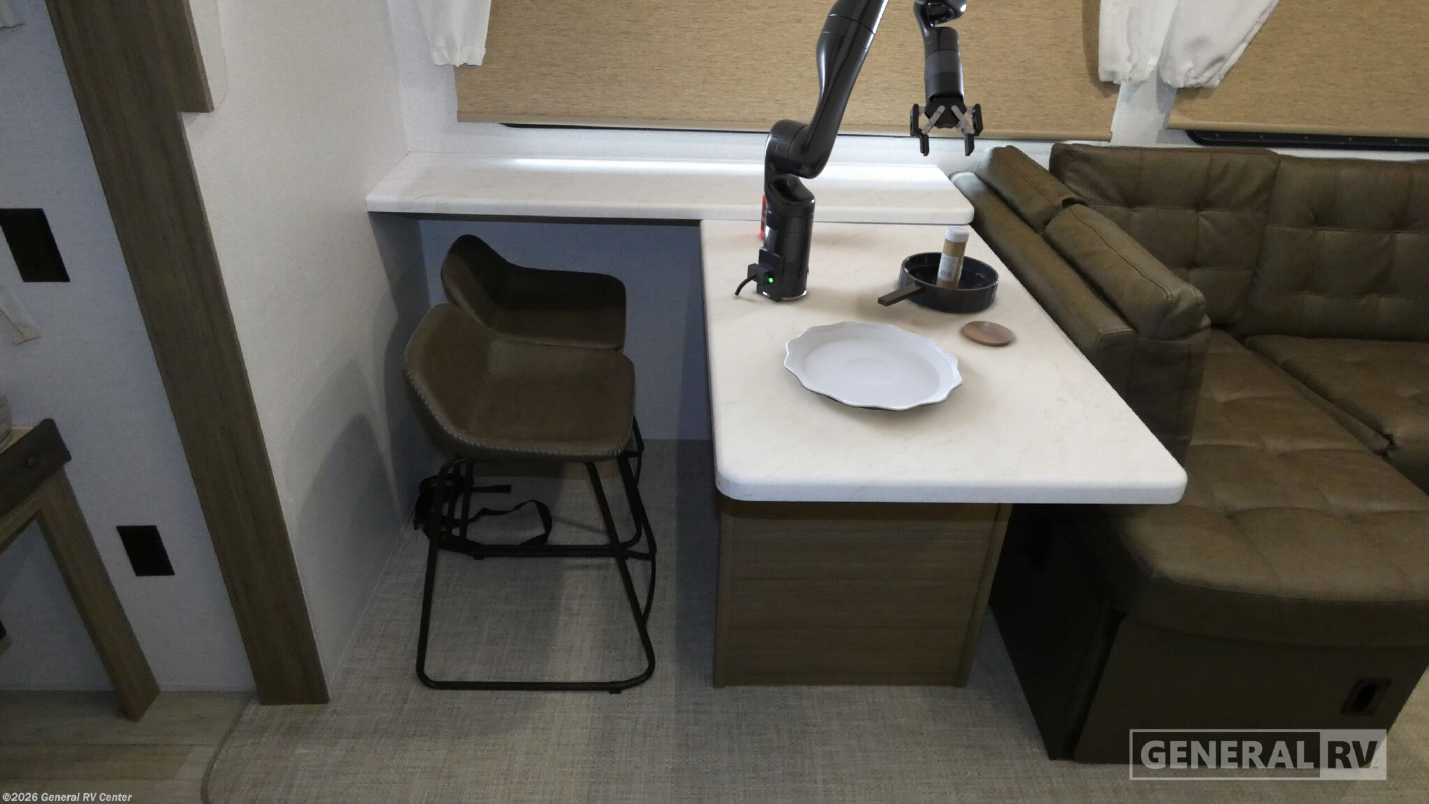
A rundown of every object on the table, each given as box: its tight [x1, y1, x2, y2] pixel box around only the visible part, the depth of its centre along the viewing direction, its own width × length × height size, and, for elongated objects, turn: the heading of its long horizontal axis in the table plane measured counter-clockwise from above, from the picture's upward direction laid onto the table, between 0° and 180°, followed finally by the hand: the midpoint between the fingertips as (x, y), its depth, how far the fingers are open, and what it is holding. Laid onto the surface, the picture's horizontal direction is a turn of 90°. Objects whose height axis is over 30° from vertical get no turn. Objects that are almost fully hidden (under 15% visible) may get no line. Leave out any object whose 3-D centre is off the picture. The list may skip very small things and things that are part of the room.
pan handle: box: [876, 283, 923, 308], centre depth 159 cm, size 11×2×1 cm, turn 131°
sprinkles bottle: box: [936, 225, 971, 289], centre depth 167 cm, size 5×5×13 cm
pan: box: [897, 251, 1000, 314], centre depth 169 cm, size 19×19×5 cm
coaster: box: [962, 320, 1014, 347], centre depth 155 cm, size 9×9×1 cm
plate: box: [783, 320, 964, 412], centre depth 140 cm, size 29×29×2 cm
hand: (947, 154), depth 168 cm, fingers open, 8 cm apart
